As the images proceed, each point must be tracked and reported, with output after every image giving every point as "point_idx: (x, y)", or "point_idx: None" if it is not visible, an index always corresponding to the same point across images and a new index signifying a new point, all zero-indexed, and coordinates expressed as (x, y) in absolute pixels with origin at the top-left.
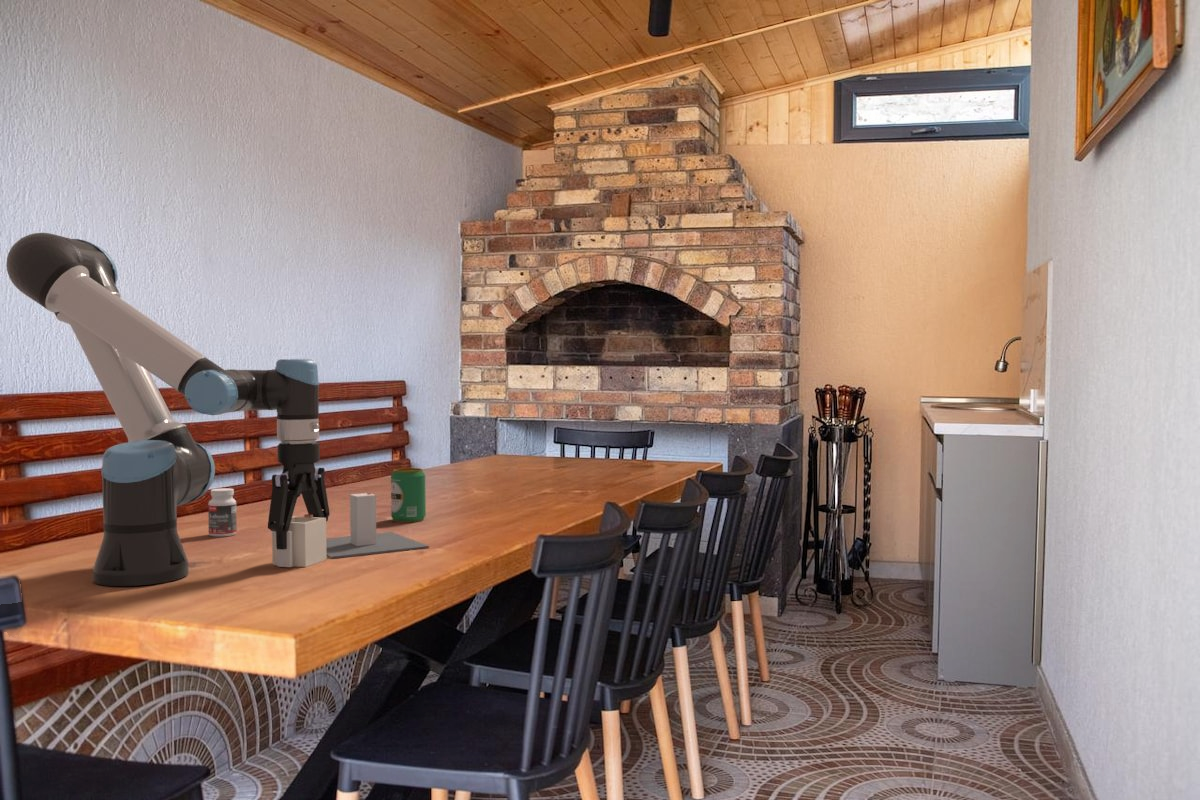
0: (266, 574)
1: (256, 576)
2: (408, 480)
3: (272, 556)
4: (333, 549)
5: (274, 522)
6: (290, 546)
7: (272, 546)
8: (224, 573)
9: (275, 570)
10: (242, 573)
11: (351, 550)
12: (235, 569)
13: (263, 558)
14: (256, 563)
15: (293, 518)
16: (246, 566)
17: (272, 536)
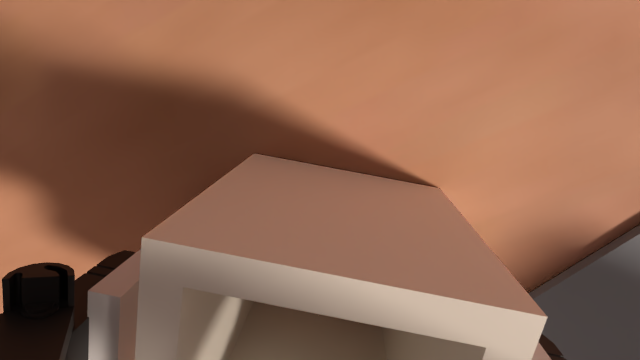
0: (64, 212)
1: (18, 187)
2: None
3: (242, 162)
4: (617, 323)
5: (142, 263)
6: None
7: (224, 176)
8: (27, 4)
9: (145, 216)
10: (52, 95)
11: None
12: (122, 11)
13: (418, 22)
14: (280, 50)
15: (454, 333)
16: (200, 33)
17: (202, 194)
